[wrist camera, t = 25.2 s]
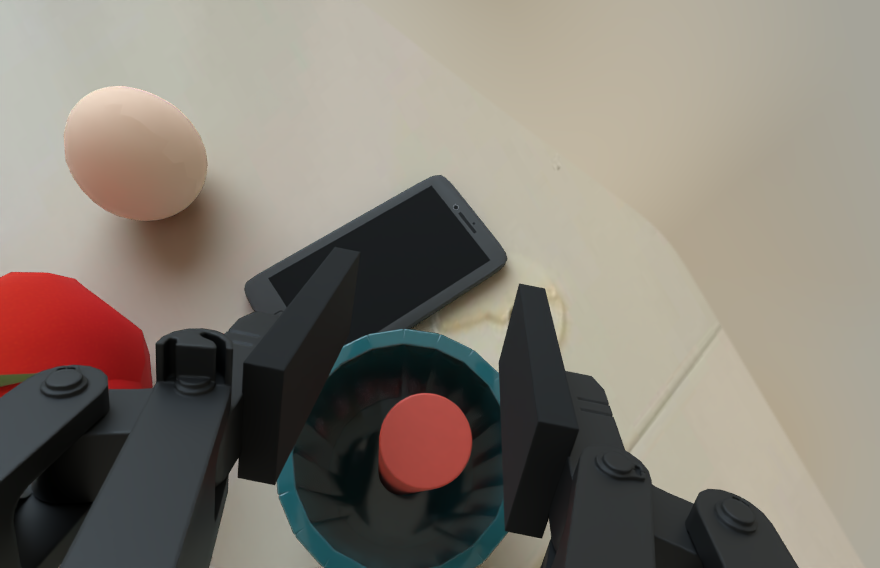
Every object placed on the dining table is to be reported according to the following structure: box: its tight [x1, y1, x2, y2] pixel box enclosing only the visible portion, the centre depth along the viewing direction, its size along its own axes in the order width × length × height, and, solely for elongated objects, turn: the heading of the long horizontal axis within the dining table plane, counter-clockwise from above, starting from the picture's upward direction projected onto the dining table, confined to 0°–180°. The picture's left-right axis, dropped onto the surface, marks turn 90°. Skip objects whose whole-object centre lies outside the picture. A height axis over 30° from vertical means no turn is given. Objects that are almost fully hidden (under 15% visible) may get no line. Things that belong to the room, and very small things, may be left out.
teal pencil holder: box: [277, 329, 508, 568], centre depth 24 cm, size 8×8×11 cm
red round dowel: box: [378, 393, 472, 495], centre depth 21 cm, size 2×2×15 cm
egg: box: [64, 86, 208, 221], centre depth 30 cm, size 7×7×8 cm
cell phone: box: [245, 175, 507, 345], centre depth 32 cm, size 7×14×1 cm, turn 125°
